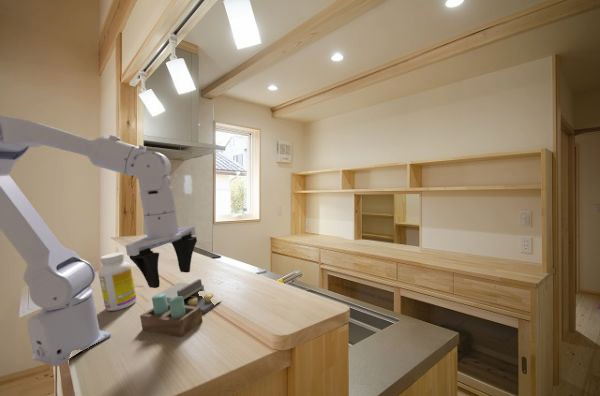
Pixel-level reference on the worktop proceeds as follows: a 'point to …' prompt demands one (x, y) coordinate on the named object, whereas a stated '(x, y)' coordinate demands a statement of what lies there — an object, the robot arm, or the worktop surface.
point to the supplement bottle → (116, 282)
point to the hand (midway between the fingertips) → (170, 278)
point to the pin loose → (177, 307)
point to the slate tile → (201, 302)
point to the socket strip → (171, 321)
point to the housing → (184, 290)
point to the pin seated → (160, 304)
